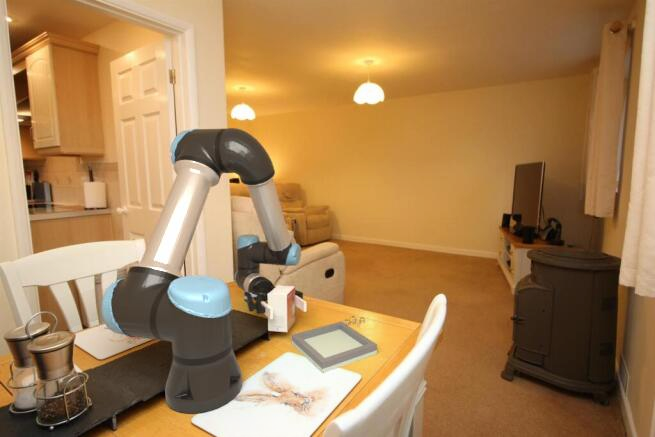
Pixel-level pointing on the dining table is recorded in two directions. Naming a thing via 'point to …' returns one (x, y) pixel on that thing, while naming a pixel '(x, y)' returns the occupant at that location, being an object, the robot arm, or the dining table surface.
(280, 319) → the small box
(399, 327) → the dining table surface
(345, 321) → the dice set
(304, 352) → the tray
